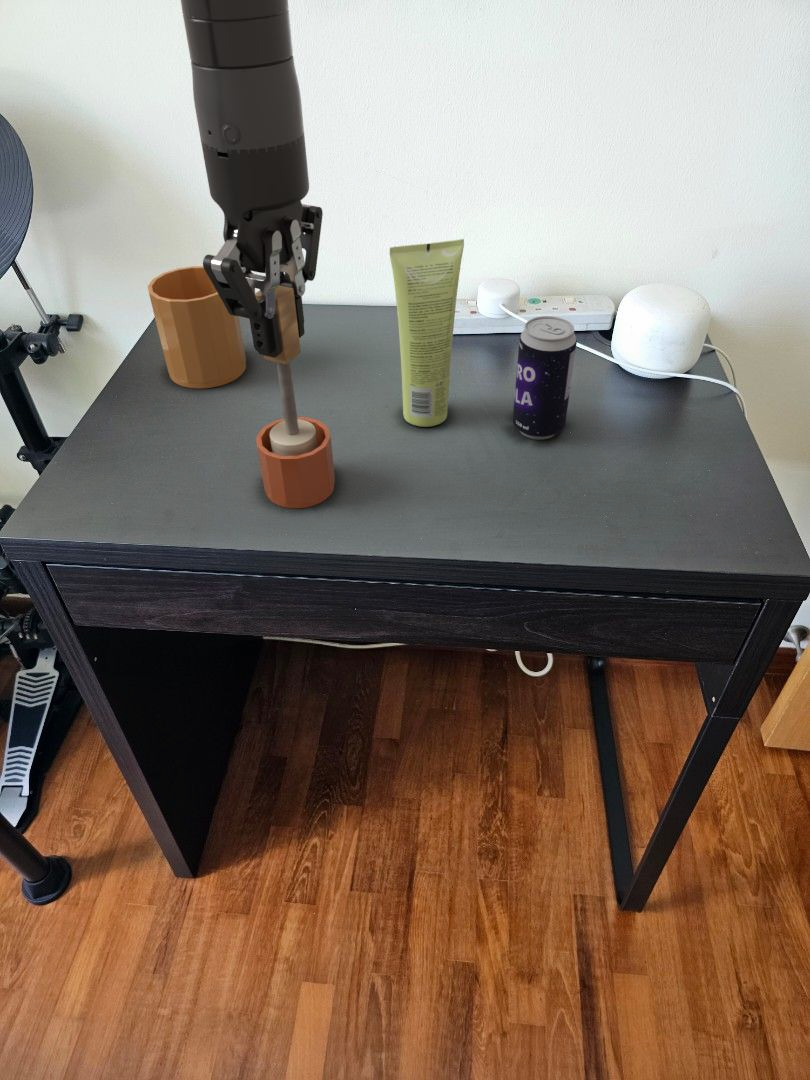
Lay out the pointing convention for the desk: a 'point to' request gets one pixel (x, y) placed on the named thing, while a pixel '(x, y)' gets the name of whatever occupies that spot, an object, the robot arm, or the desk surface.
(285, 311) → the brush
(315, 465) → the cup
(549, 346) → the beverage can
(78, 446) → the desk surface
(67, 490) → the desk surface
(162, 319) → the orange pen cup
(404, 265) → the tube
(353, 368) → the desk surface
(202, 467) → the desk surface
